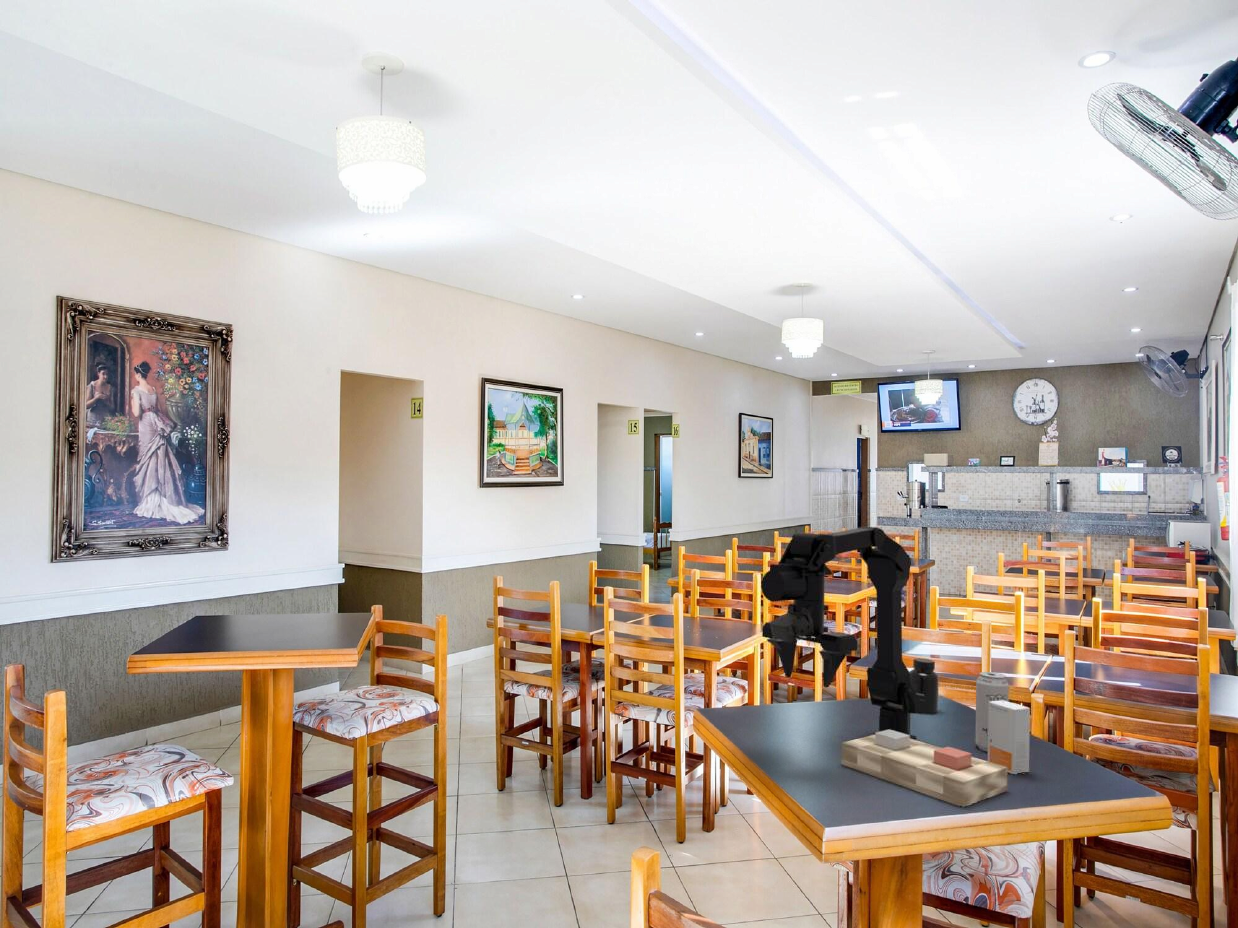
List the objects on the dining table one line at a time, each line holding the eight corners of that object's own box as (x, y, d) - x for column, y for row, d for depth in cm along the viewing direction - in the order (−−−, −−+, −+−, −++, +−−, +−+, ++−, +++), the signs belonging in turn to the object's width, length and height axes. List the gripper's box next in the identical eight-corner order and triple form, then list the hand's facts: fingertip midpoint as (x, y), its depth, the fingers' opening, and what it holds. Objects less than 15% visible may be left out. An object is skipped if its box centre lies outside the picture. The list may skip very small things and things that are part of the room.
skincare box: (986, 764, 150) (987, 701, 150) (1002, 762, 151) (1003, 699, 152) (1013, 775, 144) (1014, 709, 145) (1030, 773, 146) (1031, 707, 146)
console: (886, 752, 155) (886, 731, 155) (1007, 790, 136) (1007, 767, 136) (841, 764, 147) (841, 742, 147) (962, 807, 127) (963, 782, 128)
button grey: (888, 748, 149) (889, 729, 149) (909, 754, 146) (909, 735, 146) (874, 751, 147) (875, 732, 147) (895, 758, 143) (895, 739, 143)
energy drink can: (984, 753, 156) (985, 677, 157) (969, 744, 162) (970, 671, 163) (1014, 754, 156) (1014, 678, 157) (998, 745, 162) (999, 671, 163)
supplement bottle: (910, 713, 186) (911, 661, 186) (905, 706, 192) (905, 656, 193) (941, 715, 184) (942, 663, 185) (934, 708, 191) (935, 658, 192)
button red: (947, 766, 140) (947, 746, 140) (971, 774, 136) (971, 753, 136) (933, 770, 137) (934, 750, 137) (957, 778, 133) (957, 757, 134)
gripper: (743, 595, 152) (741, 676, 152) (820, 607, 137) (818, 698, 137) (782, 592, 159) (780, 670, 158) (860, 604, 144) (858, 690, 143)
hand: (806, 682), depth 149 cm, fingers open, 9 cm apart
